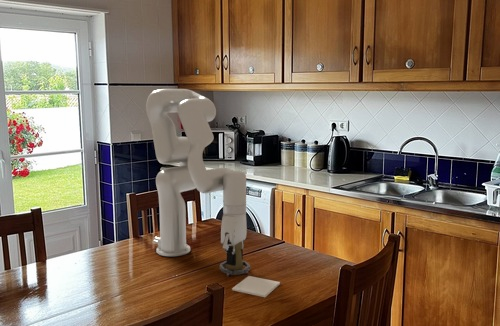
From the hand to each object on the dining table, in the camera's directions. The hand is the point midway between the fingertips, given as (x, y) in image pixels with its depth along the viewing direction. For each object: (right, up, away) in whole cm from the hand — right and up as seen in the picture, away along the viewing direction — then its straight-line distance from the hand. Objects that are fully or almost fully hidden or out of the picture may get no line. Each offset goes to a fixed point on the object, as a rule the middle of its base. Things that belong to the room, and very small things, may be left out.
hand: (234, 262), depth 159 cm
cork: (0, -4, 0) cm, 3 cm away
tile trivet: (+7, -5, -12) cm, 15 cm away
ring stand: (0, -3, 0) cm, 3 cm away
